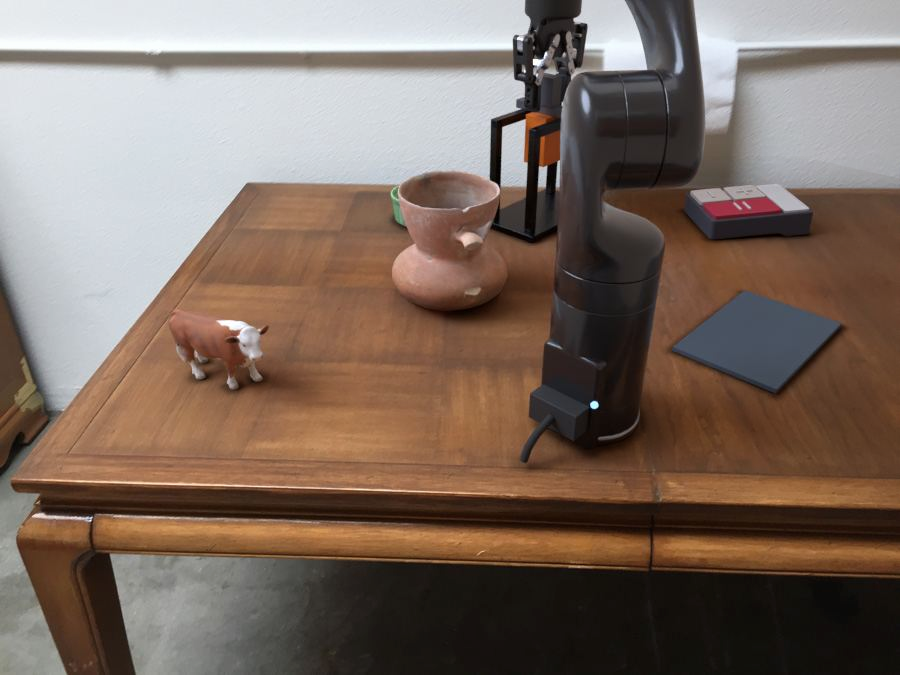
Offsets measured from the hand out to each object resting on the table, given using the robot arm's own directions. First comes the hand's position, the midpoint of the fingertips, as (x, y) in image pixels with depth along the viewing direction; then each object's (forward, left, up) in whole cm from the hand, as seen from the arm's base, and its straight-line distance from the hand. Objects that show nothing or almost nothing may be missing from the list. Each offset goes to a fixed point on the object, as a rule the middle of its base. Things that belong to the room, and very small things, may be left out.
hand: (547, 105), depth 109 cm
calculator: (+19, -24, -17) cm, 35 cm away
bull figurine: (-57, -2, -17) cm, 60 cm away
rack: (0, 0, -17) cm, 17 cm away
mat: (-11, -40, -17) cm, 45 cm away
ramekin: (-13, +13, -17) cm, 25 cm away
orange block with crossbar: (0, 0, -8) cm, 8 cm away
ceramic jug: (-27, -6, -17) cm, 33 cm away
